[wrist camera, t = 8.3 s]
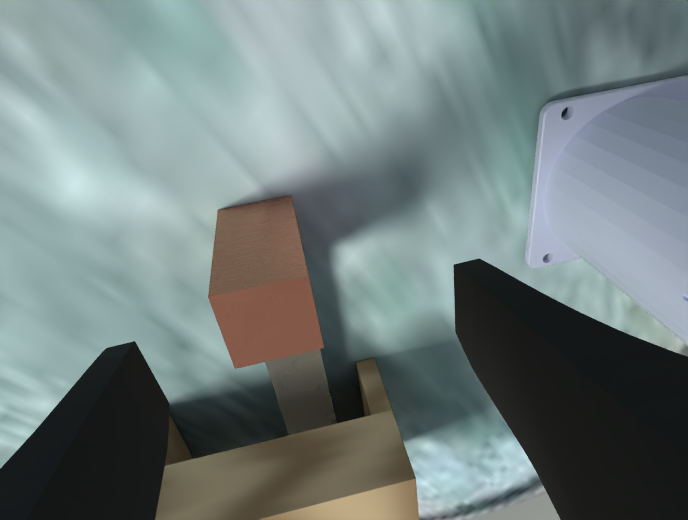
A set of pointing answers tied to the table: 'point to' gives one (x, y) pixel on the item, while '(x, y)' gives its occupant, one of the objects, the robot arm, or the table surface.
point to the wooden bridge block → (300, 471)
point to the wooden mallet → (271, 307)
